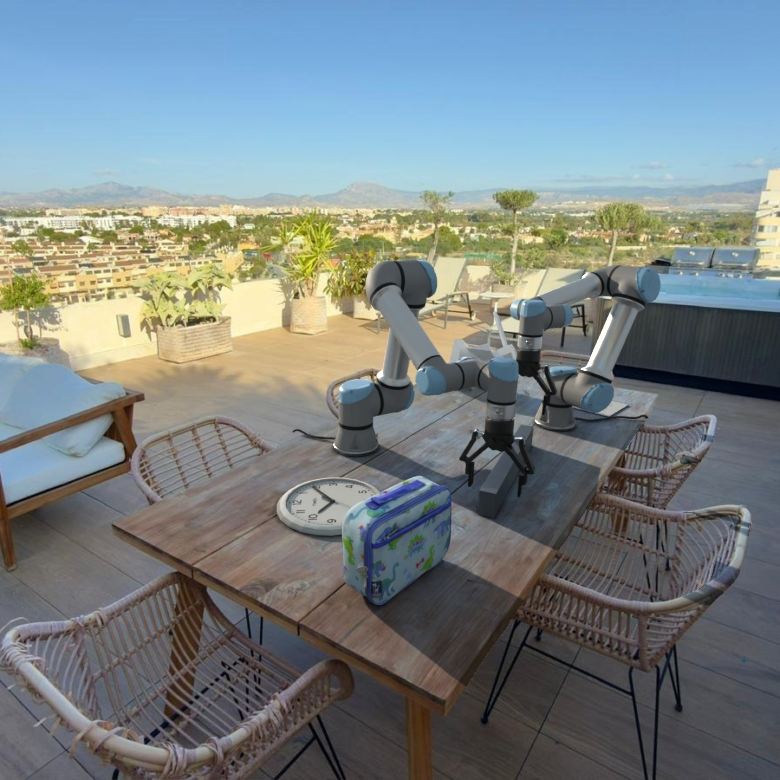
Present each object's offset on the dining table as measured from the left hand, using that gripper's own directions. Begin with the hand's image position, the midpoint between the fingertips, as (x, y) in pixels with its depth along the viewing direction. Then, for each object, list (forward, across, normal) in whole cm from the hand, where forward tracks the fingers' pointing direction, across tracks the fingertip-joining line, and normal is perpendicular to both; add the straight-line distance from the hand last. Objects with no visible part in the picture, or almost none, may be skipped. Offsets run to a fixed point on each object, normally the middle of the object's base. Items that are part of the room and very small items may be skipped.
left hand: (494, 490), depth 143 cm
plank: (+4, 0, +20) cm, 20 cm away
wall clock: (+4, -40, -20) cm, 45 cm away
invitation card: (+4, +21, +104) cm, 106 cm away
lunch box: (+5, -11, -40) cm, 42 cm away
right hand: (-11, -1, +40) cm, 41 cm away
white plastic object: (+4, -32, +99) cm, 104 cm away
